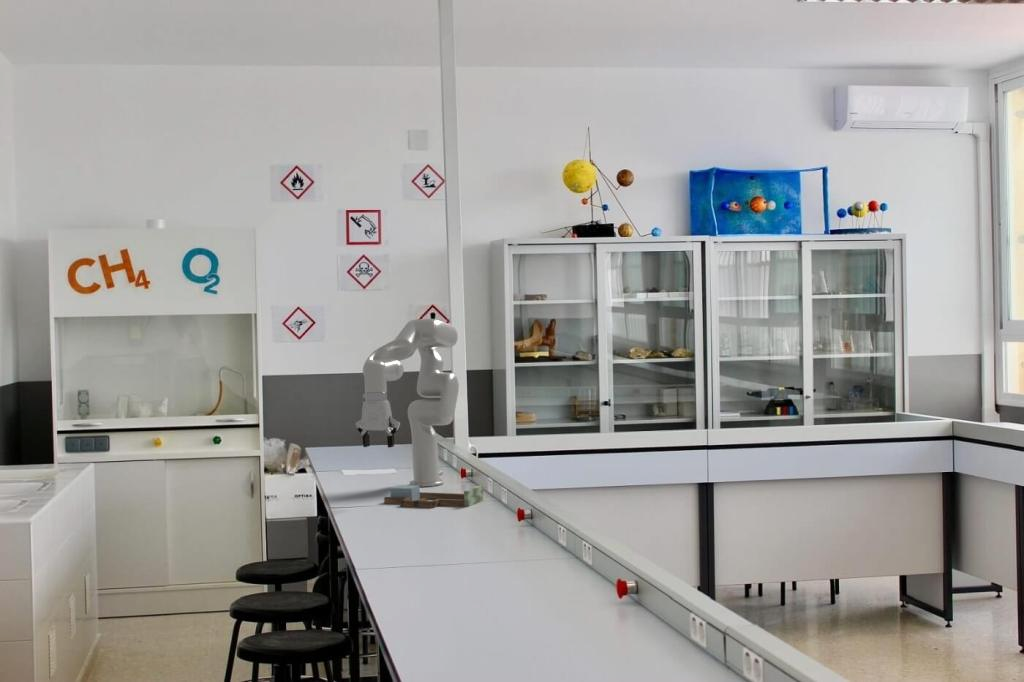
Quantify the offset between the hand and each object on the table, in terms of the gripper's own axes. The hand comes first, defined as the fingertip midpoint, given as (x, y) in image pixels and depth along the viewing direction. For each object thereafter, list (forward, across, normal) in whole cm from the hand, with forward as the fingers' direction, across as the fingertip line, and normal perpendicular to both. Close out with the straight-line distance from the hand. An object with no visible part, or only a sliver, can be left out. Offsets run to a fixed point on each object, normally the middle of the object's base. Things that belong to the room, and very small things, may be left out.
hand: (378, 446), depth 380 cm
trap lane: (+18, +21, -2) cm, 28 cm away
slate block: (+19, +10, 0) cm, 21 cm away
